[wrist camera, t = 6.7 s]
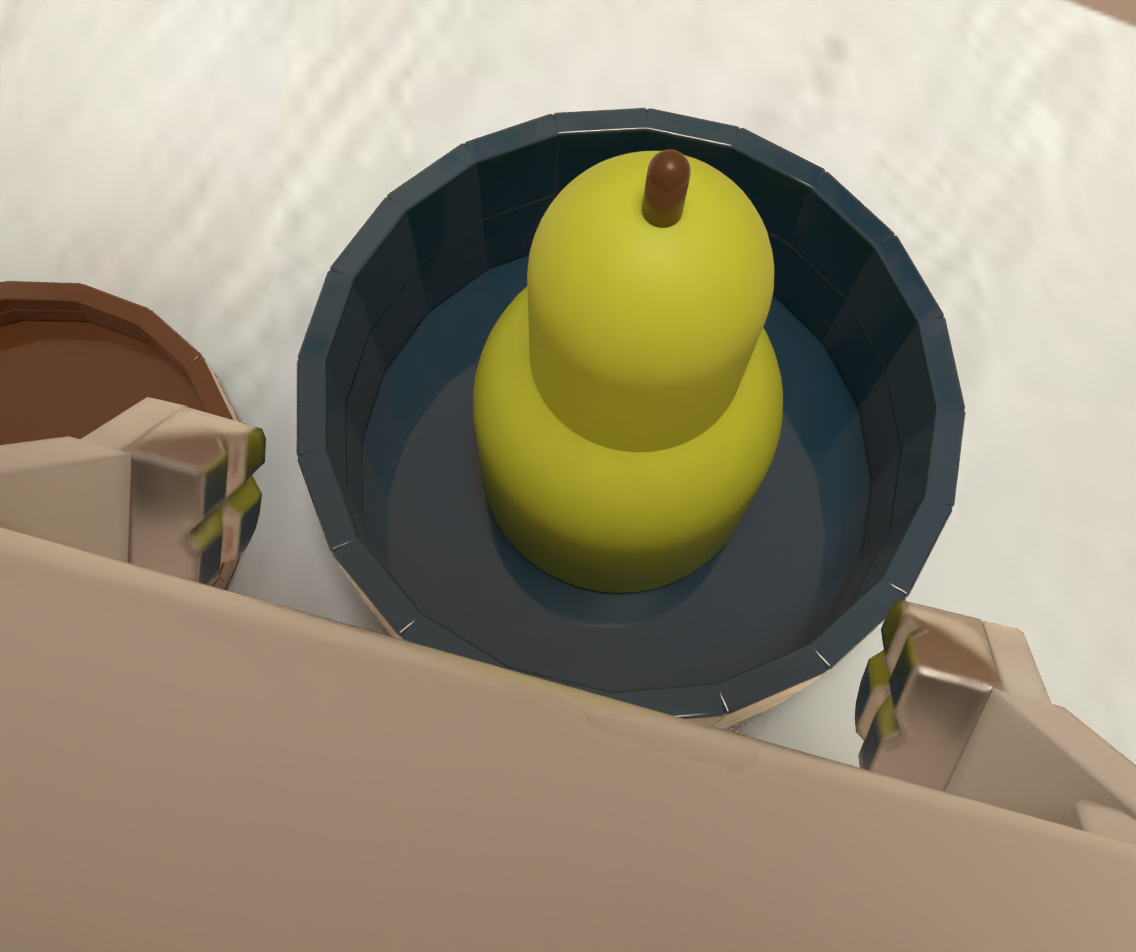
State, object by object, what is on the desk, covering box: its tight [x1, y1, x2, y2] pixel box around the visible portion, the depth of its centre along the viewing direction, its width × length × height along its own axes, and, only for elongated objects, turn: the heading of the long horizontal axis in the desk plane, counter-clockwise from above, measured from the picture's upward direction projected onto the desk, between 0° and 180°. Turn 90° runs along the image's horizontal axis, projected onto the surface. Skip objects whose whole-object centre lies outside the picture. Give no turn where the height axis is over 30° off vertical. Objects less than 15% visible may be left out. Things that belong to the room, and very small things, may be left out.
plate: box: [0, 281, 239, 590], centre depth 25 cm, size 10×10×2 cm
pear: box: [473, 150, 783, 593], centre depth 20 cm, size 6×6×12 cm
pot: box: [297, 108, 965, 730], centre depth 24 cm, size 13×13×5 cm
